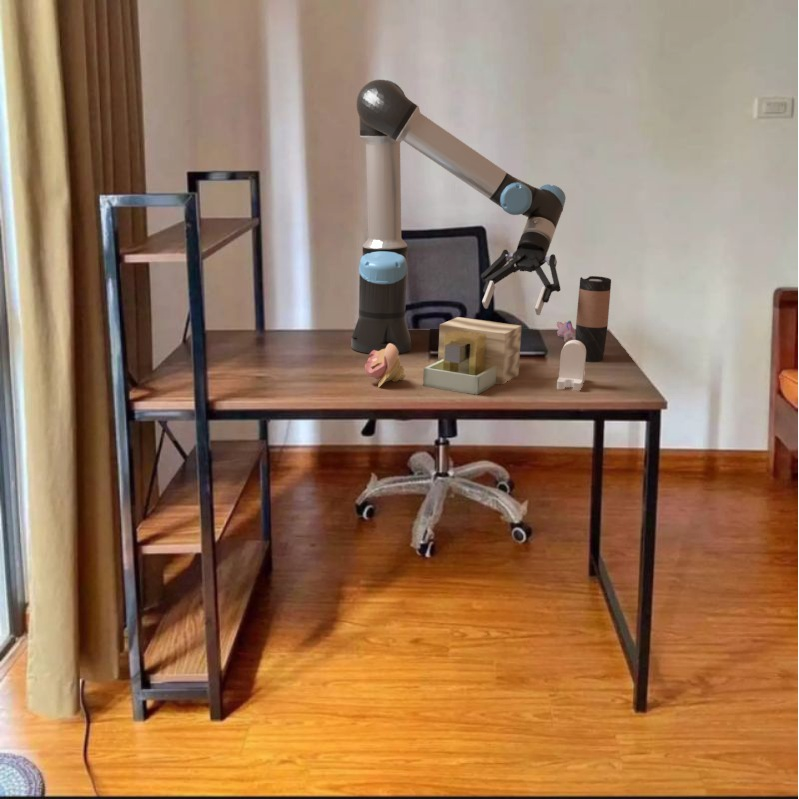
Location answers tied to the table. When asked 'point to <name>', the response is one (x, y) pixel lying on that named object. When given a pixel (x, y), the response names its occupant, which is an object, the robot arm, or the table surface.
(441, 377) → the tray
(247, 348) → the table surface
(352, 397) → the table surface
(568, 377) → the white phone stand
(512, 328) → the light wood block
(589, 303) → the travel mug
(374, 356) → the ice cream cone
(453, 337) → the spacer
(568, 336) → the rabbit figure
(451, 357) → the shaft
